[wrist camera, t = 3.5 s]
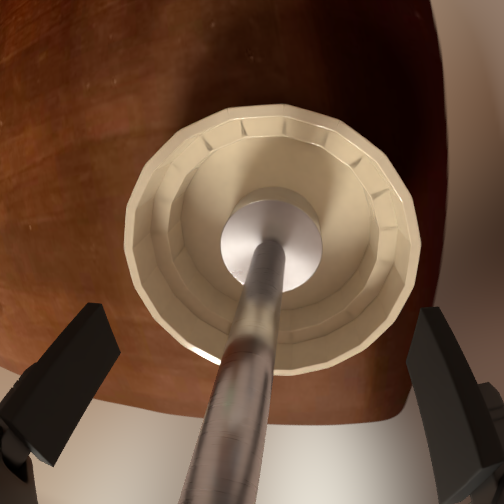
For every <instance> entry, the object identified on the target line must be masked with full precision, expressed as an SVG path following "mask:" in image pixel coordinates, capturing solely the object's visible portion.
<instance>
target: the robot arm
mask: <svg viewBox="0 0 504 504" xmlns="http://www.w3.org/2000/svg"><path fill="white" fill-rule="evenodd" d="M120 353H121V352H120V350H119V347H118V345H117V342H116V340H115V337H114V335H113V332H112V330H111V327H110V325H109V322H108V319H107V317H106V314H105V311H104V309H103V306H102V304H99V303H87V304H86V305H85V307H84V308H83V309H82V310H81V311H80V312H79V313H78V314H77V316H76V317H75V318H74V319H73V320H72V321H71V322H70V324H69V325H68V326H67V327H66V328H65V329H64V330H63V332H62V333H61V334H60V335H59V336H58V338H57V339H56V340H55V341H54V342H53V343H52V345H51V346H50V347H49V348H48V349H47V351H46V352H45V353H44V354H43V356H42V357H41V358H40V359H39V360H38V362H37V363H34V364H33V365H31V366H30V367H29V368H27V369H26V370H25V371H24V373H23V374H22V375H21V376H20V378H19V381H18V380H17V382H16V383H15V384H14V386H13V388H11V389H10V391H9V392H8V393H7V394H6V396H5V397H4V398H3V400H2V401H1V402H0V504H38V501H37V495H36V488H35V481H34V474H33V465H32V460H31V458H30V457H29V456H28V455H29V454H30V452H32V453H33V454H34V455H35V456H36V457H37V458H38V459H39V460H40V461H42V462H44V463H46V464H48V465H50V466H52V467H54V465H55V463H56V462H57V459H58V458H59V456H60V454H61V452H62V451H63V449H64V447H65V445H66V443H67V442H68V440H69V438H70V436H71V434H72V433H73V431H74V429H75V428H76V426H77V424H78V422H79V421H80V419H81V417H82V416H83V414H84V412H85V410H86V409H87V407H88V405H89V404H90V402H91V400H92V399H93V397H94V395H95V394H96V392H97V390H98V389H99V387H100V385H101V384H102V382H103V381H104V379H105V377H106V376H107V374H108V372H109V371H110V369H111V368H112V366H113V364H114V363H115V361H116V360H117V358H118V356H119V355H120ZM406 364H407V367H408V371H409V374H410V377H411V381H412V384H413V388H414V391H415V395H416V398H417V402H418V406H419V409H420V414H421V417H422V421H423V425H424V430H425V434H426V438H427V442H428V447H429V451H430V456H431V461H432V466H433V471H434V475H435V482H436V487H437V493H438V499H439V504H455V503H458V502H461V501H463V500H464V499H465V498H466V497H467V496H468V495H470V497H471V502H470V503H469V504H504V403H503V400H502V398H501V396H500V394H499V392H498V391H497V390H496V389H495V388H494V387H493V386H492V385H491V384H490V383H489V382H487V383H482V384H477V382H476V380H475V377H474V375H473V373H472V371H471V369H470V367H469V364H468V363H467V360H466V358H465V356H464V354H463V352H462V350H461V348H460V346H459V344H458V342H457V340H456V338H455V336H454V334H453V332H452V330H451V328H450V327H449V325H448V323H447V321H446V319H445V317H444V315H443V314H442V312H441V310H440V308H439V307H425V308H421V309H420V313H419V317H418V321H417V325H416V328H415V332H414V336H413V339H412V343H411V346H410V350H409V353H408V356H407V360H406Z"/></svg>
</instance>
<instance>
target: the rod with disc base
mask: <svg viewBox="0 0 504 504" xmlns="http://www.w3.org/2000/svg"><path fill="white" fill-rule="evenodd" d="M220 251H221V256H222V259H223V262H224V264H225V266H226V268H227V269H228V270H229V272H230V273H231V274H232V276H233V277H234V278H235V279H237V280H238V281H239V282H240V283H242V284H243V285H244V286H243V290H242V293H241V296H240V300H239V303H238V306H237V310H236V313H235V316H234V320H233V323H232V326H231V330H230V333H229V336H228V340H227V343H226V346H225V350H224V353H223V356H222V360H221V363H220V366H219V370H218V373H217V376H216V380H215V383H214V386H213V390H212V393H211V396H210V400H209V403H208V406H207V410H206V413H205V416H204V420H203V423H202V426H201V429H200V433H199V436H198V440H197V443H196V446H195V449H194V453H193V456H192V459H191V463H190V466H189V469H188V473H187V476H186V479H185V483H184V486H183V489H182V492H181V496H180V499H179V502H178V504H255V502H256V495H257V490H258V483H259V477H260V470H261V464H262V457H263V450H264V443H265V435H266V428H267V421H268V413H269V406H270V398H271V390H272V382H273V374H274V365H275V357H276V348H277V339H278V330H279V321H280V311H281V302H282V292H287V291H290V290H293V289H295V288H297V287H299V286H301V285H303V284H304V283H305V282H307V281H308V280H309V279H310V278H311V277H312V276H313V274H314V273H315V272H316V270H317V268H318V267H319V264H320V262H321V258H322V252H323V243H322V236H321V230H320V224H319V219H318V216H317V214H316V212H315V210H314V208H313V207H312V205H311V204H310V203H309V202H308V201H307V200H306V199H305V198H304V197H303V196H302V195H300V194H298V193H297V192H295V191H293V190H290V189H287V188H283V187H264V188H260V189H257V190H254V191H252V192H250V193H249V194H247V195H246V196H244V197H243V198H242V199H241V200H240V201H239V203H238V204H237V205H236V207H235V208H234V210H233V212H232V213H231V215H230V217H229V218H228V220H227V222H226V224H225V225H224V227H223V230H222V233H221V237H220Z"/></svg>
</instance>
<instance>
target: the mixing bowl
mask: <svg viewBox="0 0 504 504" xmlns="http://www.w3.org/2000/svg"><path fill="white" fill-rule="evenodd" d="M264 187H283V188H287V189H290V190H293V191H295V192H297V193H298V194H300V195H302V196H303V197H304V198H305V199H306V200H307V201H308V202H309V203H310V204H311V205H312V207H313V208H314V210H315V212H316V214H317V216H318V219H319V224H320V230H321V236H322V243H323V252H322V258H321V262H320V264H319V267H318V268H317V270H316V272H315V273H314V274H313V276H312V277H311V278H310V279H309V280H308V281H307V282H305V283H304V284H303V285H301V286H299V287H297V288H295V289H293V290H290V291H287V292H282V302H281V311H280V321H279V330H278V339H277V348H276V357H275V365H274V374H273V375H286V376H292V375H298V374H303V373H307V372H312V371H316V370H321V369H325V368H329V367H332V366H334V365H336V364H338V363H340V362H342V361H344V360H346V359H348V358H350V357H352V356H354V355H356V354H357V353H359V352H361V351H363V350H365V349H366V348H367V347H368V346H369V345H371V344H372V343H373V342H374V341H375V340H376V339H377V338H378V337H379V336H380V335H381V334H382V333H383V332H384V331H385V330H387V329H388V328H389V327H390V326H391V325H392V324H393V323H394V321H395V320H396V318H397V316H398V315H399V313H400V311H401V309H402V307H403V306H404V304H405V302H406V300H407V298H408V296H409V295H410V293H411V291H412V289H413V287H414V284H415V278H416V273H417V267H418V261H419V255H420V248H421V239H420V234H419V228H418V223H417V218H416V213H415V208H414V203H413V199H412V196H411V194H410V192H409V191H408V189H407V187H406V186H405V184H404V183H403V181H402V179H401V178H400V176H399V174H398V173H397V171H396V170H395V168H394V167H393V165H392V163H391V162H390V160H389V159H388V157H387V156H386V154H384V152H382V151H381V150H380V149H379V148H377V147H376V146H375V145H374V144H372V143H371V142H370V141H368V140H367V139H366V138H364V137H363V136H362V135H360V134H359V133H358V132H356V131H355V130H354V129H352V128H351V127H350V126H348V125H347V124H345V123H344V122H343V121H340V120H339V119H336V118H333V117H330V116H327V115H323V114H320V113H317V112H313V111H310V110H307V109H303V108H299V107H296V106H292V105H288V104H265V105H251V106H239V107H229V108H225V109H223V110H221V111H218V112H216V113H214V114H212V115H210V116H207V117H205V118H203V119H201V120H199V121H196V122H194V123H192V124H190V125H188V126H186V127H184V128H182V129H180V130H179V131H177V132H176V133H175V134H174V135H173V136H172V137H171V138H170V139H169V140H168V141H167V142H166V143H165V144H164V145H163V146H162V147H161V148H160V149H159V150H158V151H157V152H156V153H155V154H154V155H153V156H152V157H151V159H150V160H149V161H148V162H147V163H146V164H145V166H144V167H143V169H142V172H141V174H140V176H139V178H138V181H137V183H136V185H135V187H134V190H133V192H132V194H131V197H130V199H129V201H128V204H127V207H126V219H125V235H124V251H125V255H126V259H127V262H128V266H129V270H130V274H131V277H132V281H133V285H134V287H135V289H136V290H137V292H138V294H139V295H140V297H141V299H142V300H143V302H144V304H145V305H146V307H147V308H148V310H149V312H150V313H151V315H152V316H153V318H154V319H155V320H156V321H157V322H158V323H159V324H160V325H161V326H162V327H163V328H164V329H165V330H166V331H167V332H168V333H170V334H171V335H172V336H173V337H174V338H175V339H176V340H177V341H178V342H179V343H180V344H182V345H183V346H184V347H186V348H188V349H189V350H191V351H193V352H195V353H197V354H198V355H200V356H202V357H204V358H206V359H208V360H210V361H211V362H213V363H215V364H218V365H220V363H221V360H222V356H223V353H224V350H225V346H226V343H227V340H228V336H229V333H230V330H231V326H232V323H233V320H234V316H235V313H236V310H237V306H238V303H239V300H240V296H241V293H242V290H243V286H244V285H243V284H242V283H240V282H239V281H238V280H237V279H235V278H234V277H233V276H232V274H231V273H230V272H229V270H228V269H227V268H226V266H225V264H224V262H223V259H222V256H221V251H220V237H221V233H222V230H223V227H224V225H225V224H226V222H227V220H228V218H229V217H230V215H231V213H232V212H233V210H234V208H235V207H236V205H237V204H238V203H239V201H240V200H241V199H242V198H243V197H244V196H246V195H247V194H249V193H250V192H252V191H254V190H257V189H260V188H264Z"/></svg>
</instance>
